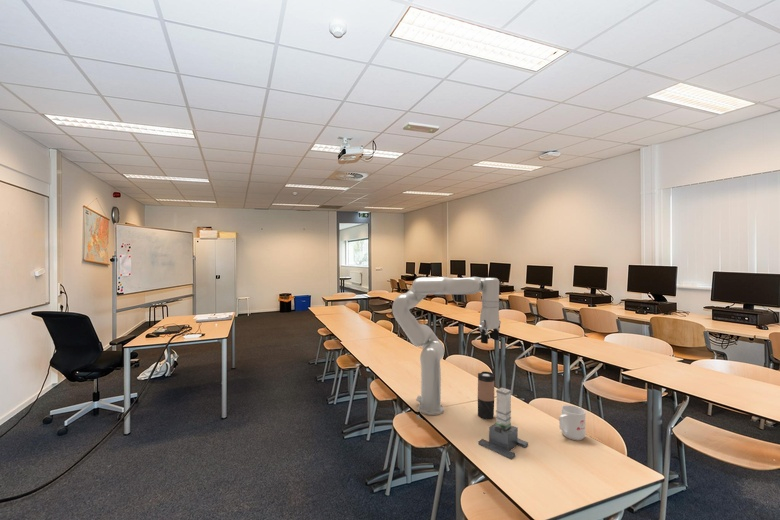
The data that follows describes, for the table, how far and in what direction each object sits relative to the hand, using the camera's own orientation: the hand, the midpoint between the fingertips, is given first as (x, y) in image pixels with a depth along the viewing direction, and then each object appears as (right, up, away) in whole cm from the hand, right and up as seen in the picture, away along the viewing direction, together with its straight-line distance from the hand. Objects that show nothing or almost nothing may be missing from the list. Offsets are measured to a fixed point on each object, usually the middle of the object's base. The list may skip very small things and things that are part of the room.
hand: (490, 341), depth 157 cm
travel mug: (-1, -37, +4) cm, 37 cm away
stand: (-1, -36, -21) cm, 42 cm away
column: (-1, -30, -21) cm, 37 cm away
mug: (+30, -37, -14) cm, 49 cm away
